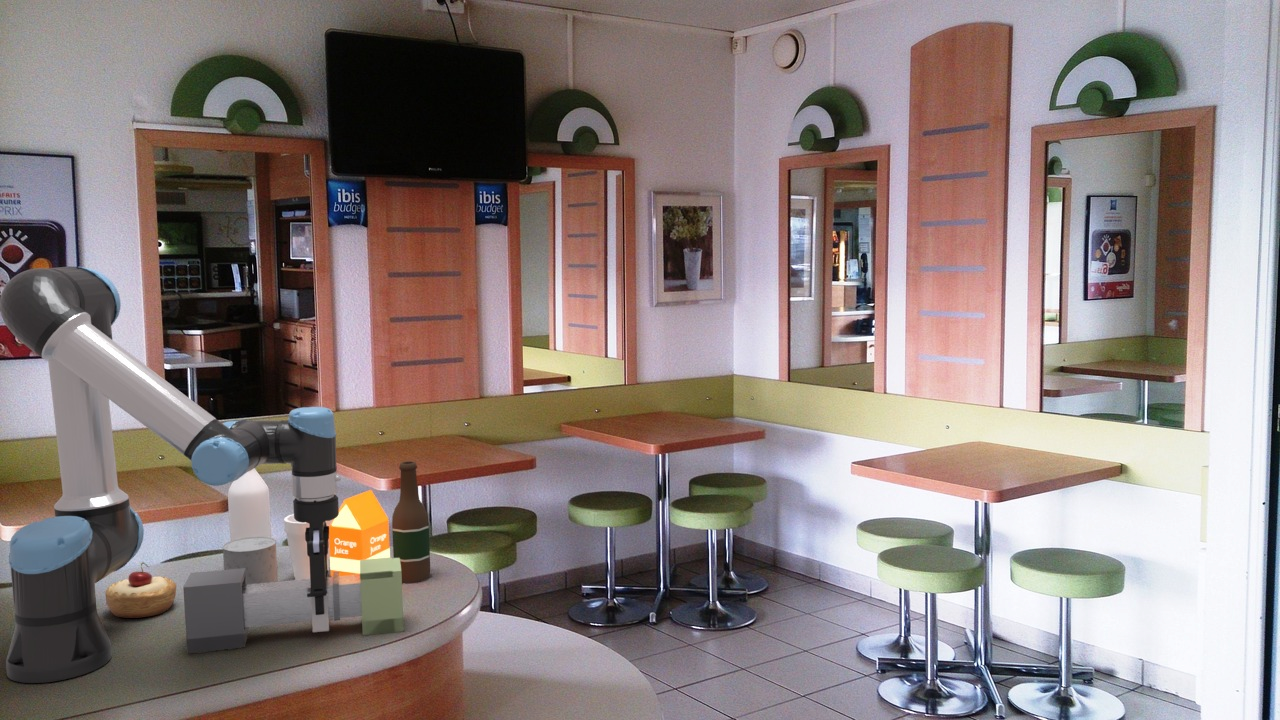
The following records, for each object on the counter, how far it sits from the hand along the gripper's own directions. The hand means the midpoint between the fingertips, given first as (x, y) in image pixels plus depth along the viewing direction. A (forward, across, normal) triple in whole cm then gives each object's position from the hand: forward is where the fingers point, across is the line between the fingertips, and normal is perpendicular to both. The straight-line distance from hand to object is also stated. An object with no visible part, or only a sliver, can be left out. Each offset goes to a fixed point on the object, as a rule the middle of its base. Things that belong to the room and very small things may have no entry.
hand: (321, 624), depth 185 cm
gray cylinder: (+2, +17, +13) cm, 21 cm away
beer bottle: (+1, +26, -17) cm, 31 cm away
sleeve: (+1, 0, +17) cm, 17 cm away
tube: (-2, 0, +3) cm, 3 cm away
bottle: (+2, +39, +15) cm, 42 cm away
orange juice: (+1, +18, -7) cm, 19 cm away
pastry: (+2, +21, +33) cm, 39 cm away
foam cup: (+1, +31, +3) cm, 31 cm away
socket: (+1, 0, -10) cm, 11 cm away
